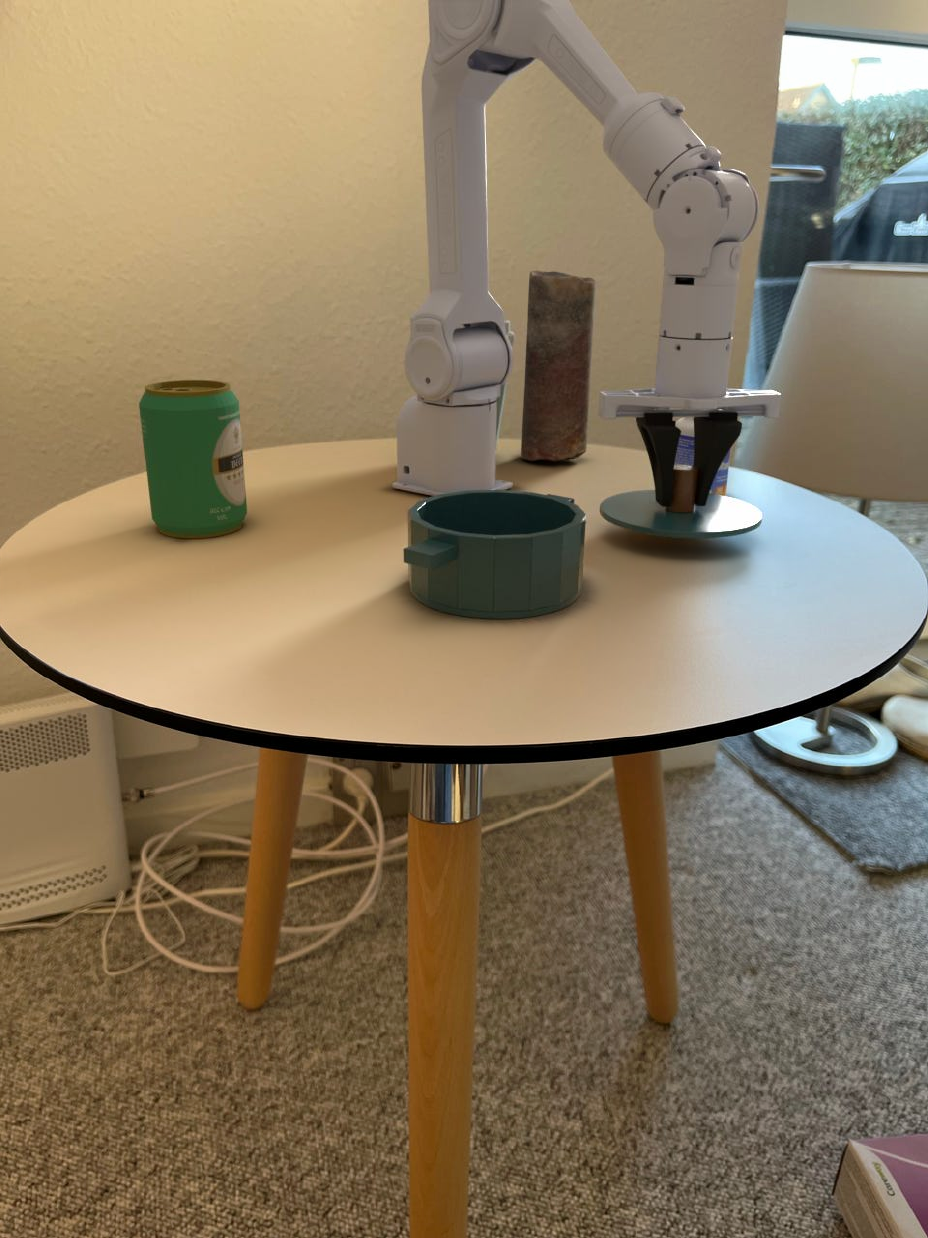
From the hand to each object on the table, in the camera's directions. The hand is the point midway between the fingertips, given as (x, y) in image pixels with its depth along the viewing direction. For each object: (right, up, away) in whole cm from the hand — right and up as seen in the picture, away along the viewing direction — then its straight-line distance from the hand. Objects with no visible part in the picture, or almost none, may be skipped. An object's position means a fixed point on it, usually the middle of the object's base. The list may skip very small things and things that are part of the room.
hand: (680, 503), depth 83 cm
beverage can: (-41, -2, +3) cm, 41 cm away
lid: (0, -1, 0) cm, 1 cm away
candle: (-8, +8, +29) cm, 31 cm away
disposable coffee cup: (-18, +8, +29) cm, 35 cm away
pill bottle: (+5, +2, +13) cm, 14 cm away
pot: (-16, -7, -11) cm, 21 cm away
